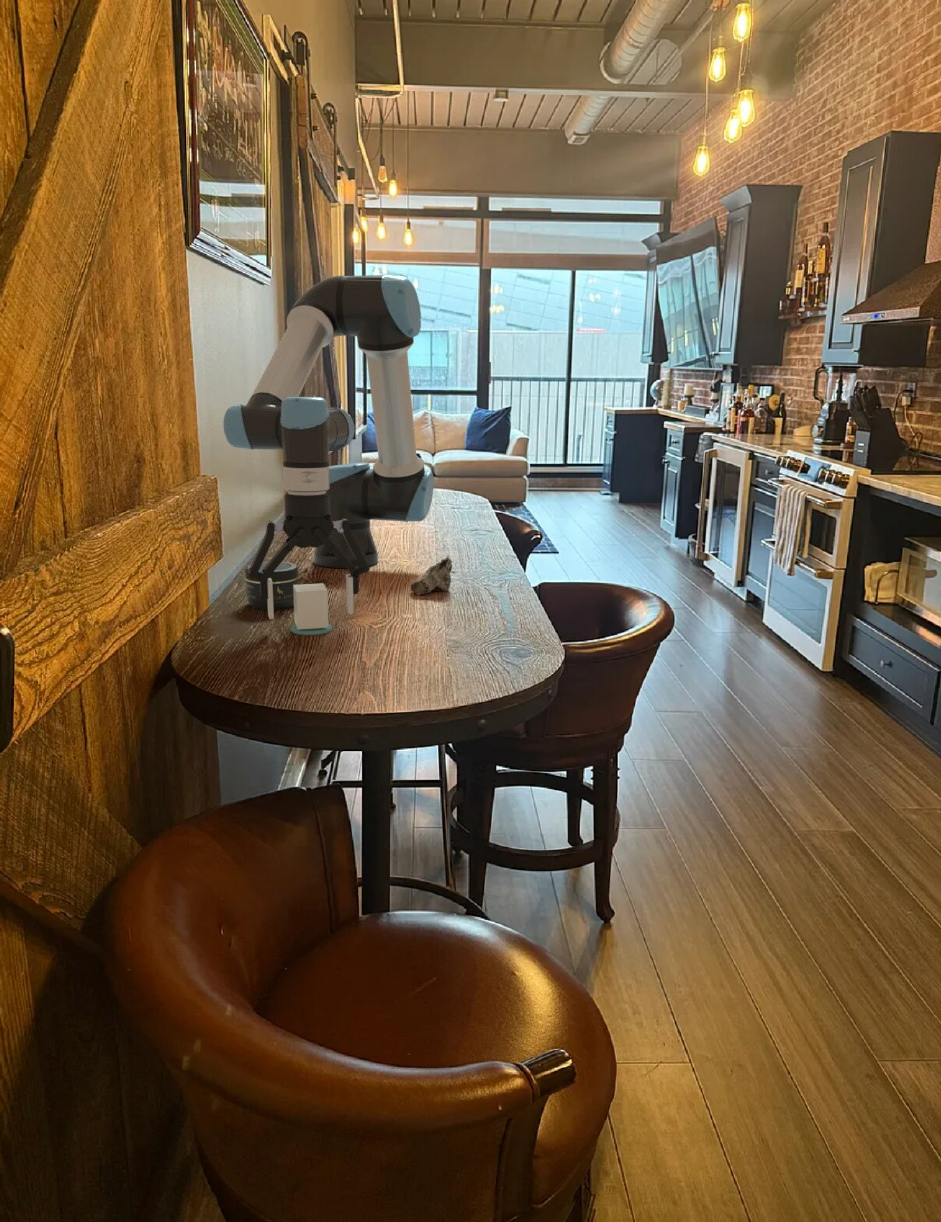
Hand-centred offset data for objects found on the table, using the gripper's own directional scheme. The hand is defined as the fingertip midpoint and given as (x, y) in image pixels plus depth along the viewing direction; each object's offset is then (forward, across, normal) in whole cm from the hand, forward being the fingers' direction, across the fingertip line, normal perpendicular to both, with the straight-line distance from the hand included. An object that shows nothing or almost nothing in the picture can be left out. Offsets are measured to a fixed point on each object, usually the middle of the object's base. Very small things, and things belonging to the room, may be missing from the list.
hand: (311, 614), depth 148 cm
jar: (+3, -5, +19) cm, 20 cm away
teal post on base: (+3, 0, 0) cm, 3 cm away
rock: (+3, +28, +22) cm, 35 cm away
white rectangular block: (+2, 0, 0) cm, 2 cm away
